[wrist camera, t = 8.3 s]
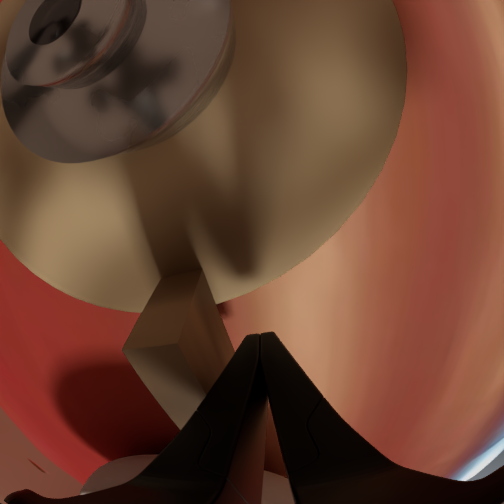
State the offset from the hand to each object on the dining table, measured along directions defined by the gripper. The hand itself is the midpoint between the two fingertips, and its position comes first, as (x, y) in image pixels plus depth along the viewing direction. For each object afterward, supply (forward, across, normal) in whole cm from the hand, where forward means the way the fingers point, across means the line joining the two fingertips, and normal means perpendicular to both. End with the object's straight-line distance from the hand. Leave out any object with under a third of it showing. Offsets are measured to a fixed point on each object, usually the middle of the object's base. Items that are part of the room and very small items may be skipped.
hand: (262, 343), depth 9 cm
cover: (+2, +3, -10) cm, 10 cm away
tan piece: (+4, +3, -10) cm, 11 cm away
